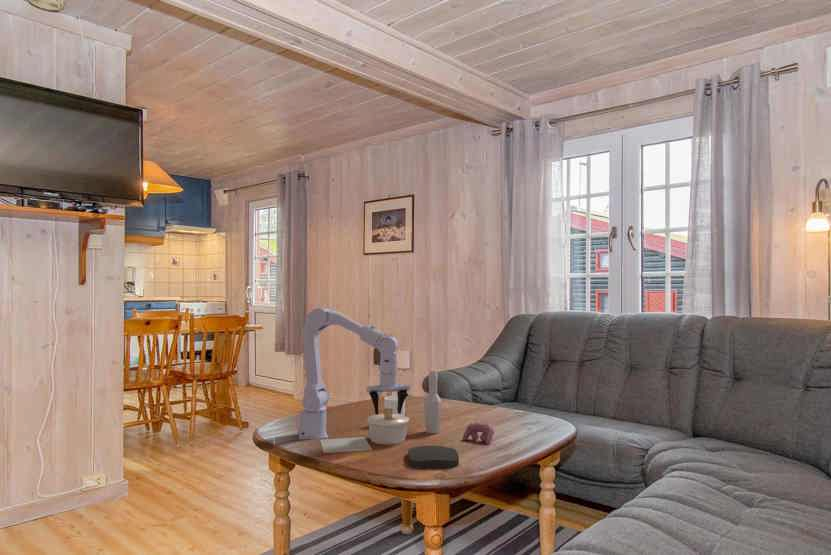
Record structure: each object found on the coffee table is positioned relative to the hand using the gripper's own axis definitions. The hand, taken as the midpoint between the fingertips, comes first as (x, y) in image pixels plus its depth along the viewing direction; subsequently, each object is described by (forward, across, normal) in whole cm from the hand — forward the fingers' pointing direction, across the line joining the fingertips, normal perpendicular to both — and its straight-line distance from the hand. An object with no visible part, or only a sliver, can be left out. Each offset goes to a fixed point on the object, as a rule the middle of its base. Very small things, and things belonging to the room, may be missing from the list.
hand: (387, 413), depth 189 cm
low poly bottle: (+9, +18, +8) cm, 22 cm away
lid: (+2, 0, 0) cm, 2 cm away
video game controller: (+10, +30, -6) cm, 32 cm away
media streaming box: (+10, +9, -23) cm, 27 cm away
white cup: (+9, +7, +21) cm, 24 cm away
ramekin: (+10, 0, 0) cm, 10 cm away
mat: (+9, -14, -2) cm, 17 cm away
